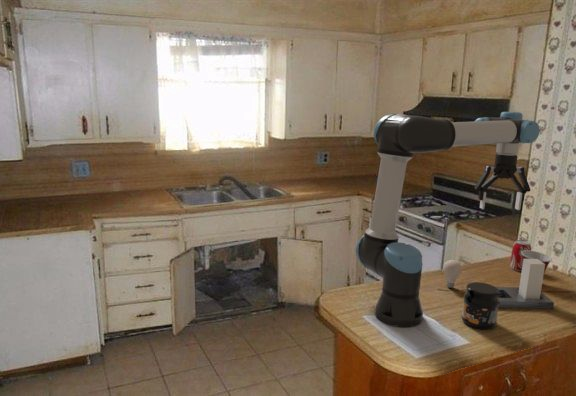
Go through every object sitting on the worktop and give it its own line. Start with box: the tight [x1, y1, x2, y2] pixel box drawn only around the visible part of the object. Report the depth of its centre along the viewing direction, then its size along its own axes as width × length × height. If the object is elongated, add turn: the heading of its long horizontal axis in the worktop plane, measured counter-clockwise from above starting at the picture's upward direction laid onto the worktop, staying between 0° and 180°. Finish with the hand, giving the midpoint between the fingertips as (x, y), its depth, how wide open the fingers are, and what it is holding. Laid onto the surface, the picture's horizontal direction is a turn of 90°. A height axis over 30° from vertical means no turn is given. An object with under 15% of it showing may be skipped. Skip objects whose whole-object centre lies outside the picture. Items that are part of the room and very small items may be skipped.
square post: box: [519, 259, 545, 299], centre depth 162 cm, size 5×5×15 cm
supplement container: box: [461, 281, 500, 330], centre depth 146 cm, size 10×10×12 cm
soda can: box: [509, 239, 532, 272], centre depth 192 cm, size 7×7×12 cm
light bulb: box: [442, 259, 462, 289], centre depth 172 cm, size 7×7×11 cm
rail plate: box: [495, 286, 555, 310], centre depth 163 cm, size 22×12×2 cm, turn 89°
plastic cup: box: [521, 250, 553, 277], centre depth 178 cm, size 11×11×12 cm
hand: (499, 208), depth 176 cm, fingers open, 13 cm apart
